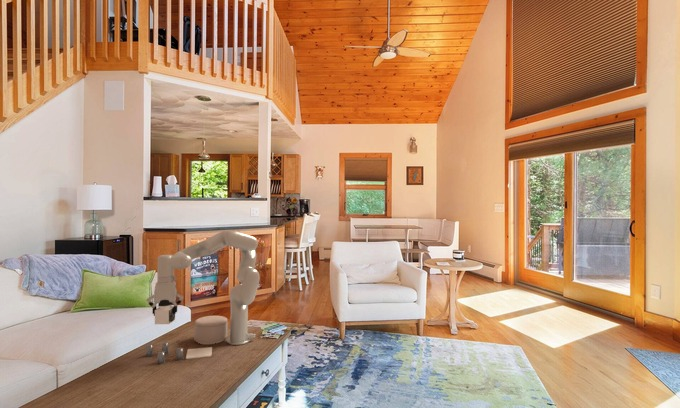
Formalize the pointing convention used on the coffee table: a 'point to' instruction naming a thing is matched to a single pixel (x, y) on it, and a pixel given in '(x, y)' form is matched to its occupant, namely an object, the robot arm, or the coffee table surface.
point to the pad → (199, 353)
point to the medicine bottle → (164, 313)
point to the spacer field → (163, 352)
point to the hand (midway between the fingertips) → (164, 314)
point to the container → (210, 329)
